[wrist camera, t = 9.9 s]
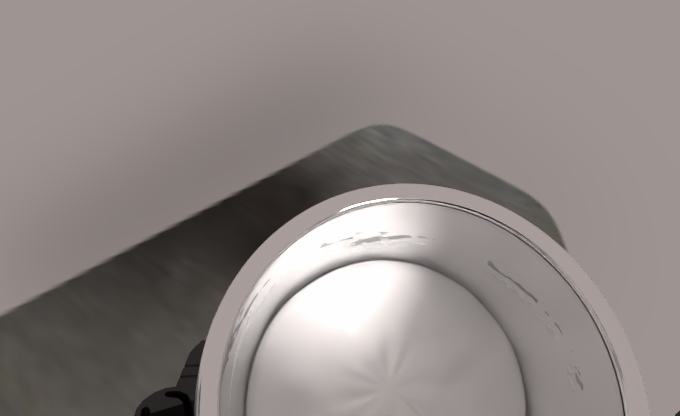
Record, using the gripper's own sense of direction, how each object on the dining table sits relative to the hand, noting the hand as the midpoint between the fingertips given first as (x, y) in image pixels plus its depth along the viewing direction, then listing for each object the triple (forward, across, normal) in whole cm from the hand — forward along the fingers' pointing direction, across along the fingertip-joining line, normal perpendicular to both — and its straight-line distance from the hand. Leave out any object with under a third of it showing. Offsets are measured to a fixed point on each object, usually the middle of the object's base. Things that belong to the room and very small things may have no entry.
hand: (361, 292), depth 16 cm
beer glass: (+2, 0, -6) cm, 7 cm away
